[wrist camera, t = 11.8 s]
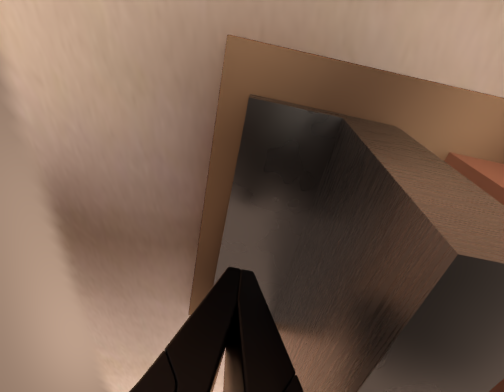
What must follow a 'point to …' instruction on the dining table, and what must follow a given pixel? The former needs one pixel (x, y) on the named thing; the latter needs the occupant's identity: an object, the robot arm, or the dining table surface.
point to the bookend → (367, 253)
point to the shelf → (339, 101)
